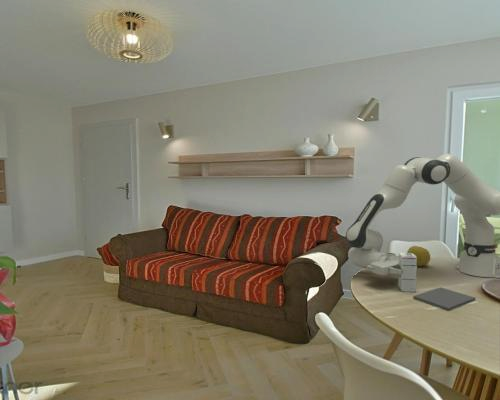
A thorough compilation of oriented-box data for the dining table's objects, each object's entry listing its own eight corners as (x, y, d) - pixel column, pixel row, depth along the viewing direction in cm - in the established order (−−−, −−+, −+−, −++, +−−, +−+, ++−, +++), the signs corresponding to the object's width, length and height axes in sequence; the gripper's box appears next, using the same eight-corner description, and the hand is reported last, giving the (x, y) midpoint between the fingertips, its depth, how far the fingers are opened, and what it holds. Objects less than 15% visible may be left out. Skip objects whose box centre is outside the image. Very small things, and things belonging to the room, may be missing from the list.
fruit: (429, 269, 162) (430, 249, 161) (405, 266, 168) (405, 247, 167) (430, 264, 171) (431, 245, 170) (407, 261, 177) (408, 243, 176)
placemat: (440, 289, 135) (440, 287, 135) (475, 300, 124) (475, 297, 124) (413, 298, 126) (413, 296, 126) (448, 310, 115) (448, 308, 115)
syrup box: (416, 292, 132) (417, 256, 131) (400, 291, 134) (401, 255, 132) (412, 287, 138) (413, 252, 137) (397, 286, 139) (398, 252, 138)
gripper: (364, 258, 141) (392, 266, 129) (394, 252, 151) (424, 259, 139) (363, 273, 141) (392, 282, 129) (394, 266, 152) (423, 274, 140)
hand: (409, 270), depth 134 cm, fingers closed on syrup box, 8 cm apart
